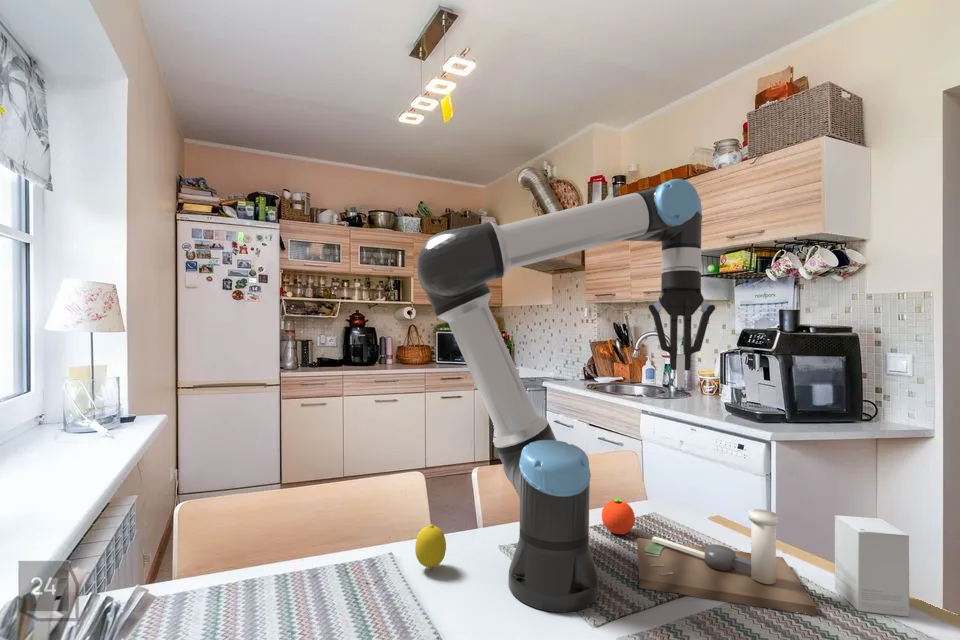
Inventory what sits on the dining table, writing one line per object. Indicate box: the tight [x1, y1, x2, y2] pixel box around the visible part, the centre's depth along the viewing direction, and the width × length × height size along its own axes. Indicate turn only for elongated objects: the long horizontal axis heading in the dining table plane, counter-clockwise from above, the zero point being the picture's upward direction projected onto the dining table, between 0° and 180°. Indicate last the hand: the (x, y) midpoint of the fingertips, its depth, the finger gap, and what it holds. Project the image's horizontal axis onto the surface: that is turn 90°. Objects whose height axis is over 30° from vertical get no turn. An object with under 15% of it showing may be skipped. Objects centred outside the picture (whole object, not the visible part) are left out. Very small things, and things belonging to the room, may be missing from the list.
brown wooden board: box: [636, 537, 817, 616], centre depth 87 cm, size 26×17×2 cm, turn 73°
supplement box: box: [834, 515, 910, 617], centre depth 80 cm, size 7×7×13 cm
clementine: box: [601, 498, 636, 535], centre depth 106 cm, size 8×7×7 cm
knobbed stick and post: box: [651, 508, 780, 584], centre depth 89 cm, size 22×5×11 cm, turn 45°
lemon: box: [414, 523, 447, 570], centre depth 88 cm, size 6×6×8 cm
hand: (679, 386), depth 100 cm, fingers closed
